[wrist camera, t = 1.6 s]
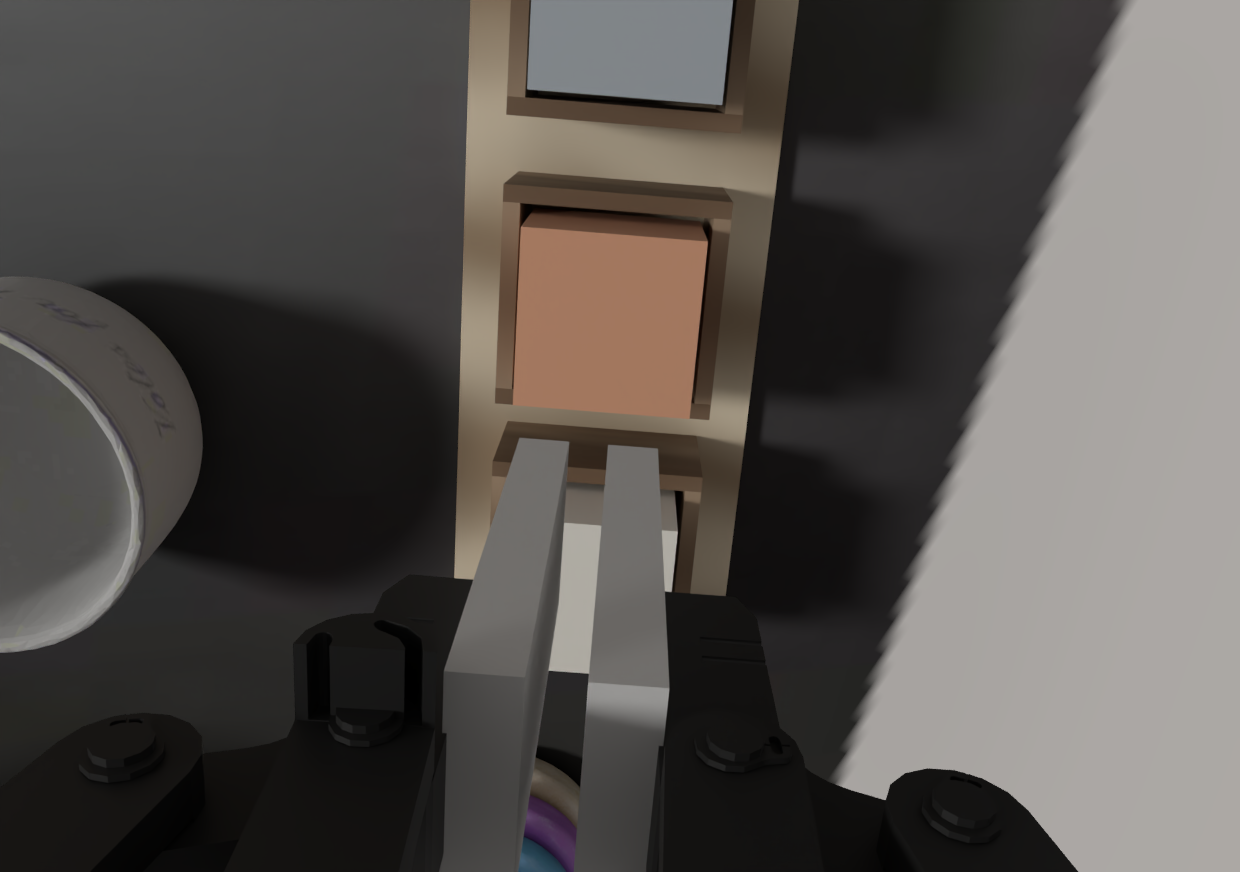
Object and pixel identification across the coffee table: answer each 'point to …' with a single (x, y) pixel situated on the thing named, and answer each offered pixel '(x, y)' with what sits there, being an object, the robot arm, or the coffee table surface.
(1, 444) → the teacup
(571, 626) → the button cream
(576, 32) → the button slate
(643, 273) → the button terracotta
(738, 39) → the button board
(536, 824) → the stacking toy
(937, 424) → the coffee table surface
